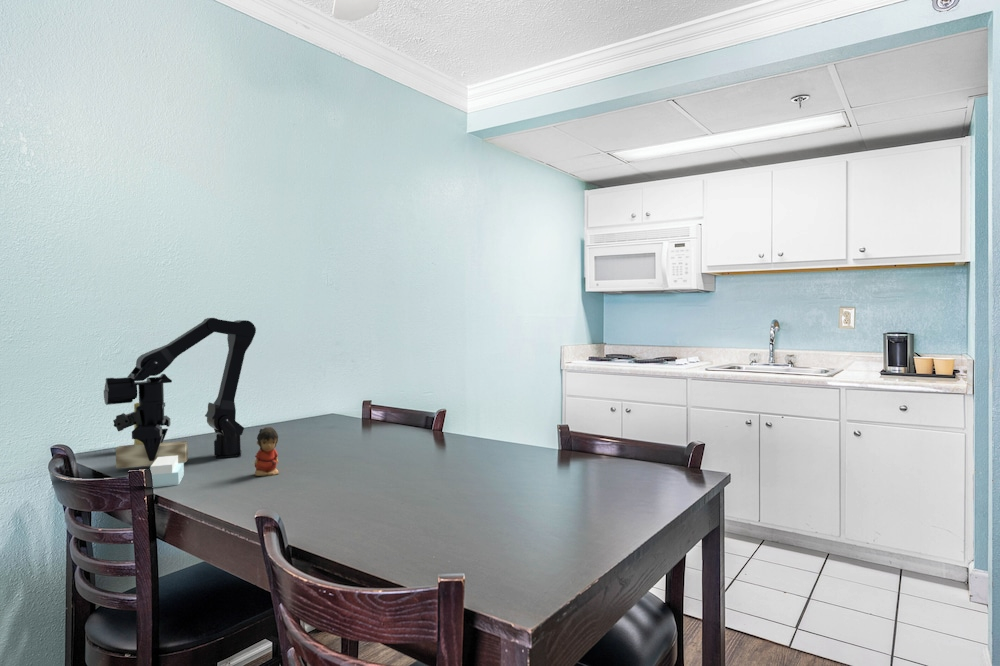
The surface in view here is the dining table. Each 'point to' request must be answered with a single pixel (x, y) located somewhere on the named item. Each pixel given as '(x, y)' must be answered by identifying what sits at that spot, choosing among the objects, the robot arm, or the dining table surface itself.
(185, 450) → the beam
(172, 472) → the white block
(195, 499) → the dining table surface
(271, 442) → the figurine
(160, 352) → the robot arm
